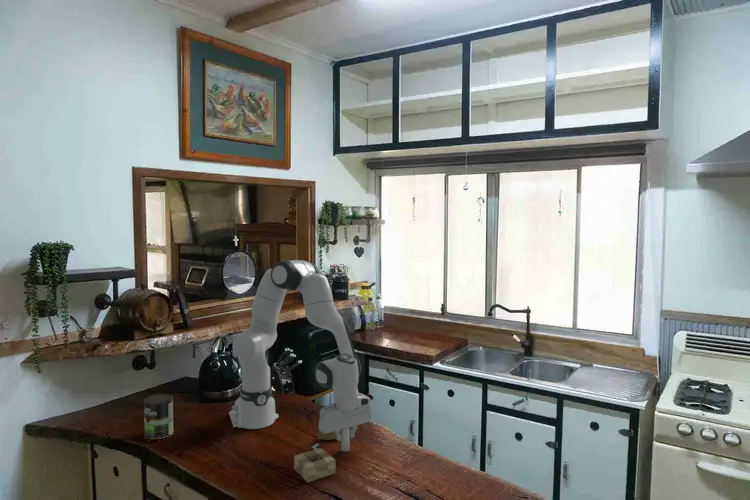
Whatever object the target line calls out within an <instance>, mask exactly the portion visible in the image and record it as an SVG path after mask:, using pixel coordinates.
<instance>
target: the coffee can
mask: <svg viewBox="0 0 750 500" xmlns="http://www.w3.org/2000/svg"><path fill="white" fill-rule="evenodd" d="M143 416H144V417H143V418H144V422H143V423H144V424H143V425H144V429H143V430H144V436H145V437H146V438H149V439H161V438H165V437H168V436H170V435H172V434H173V435H174V433H173V432H174V396H173V395H171V394H170V393H169V394H167V393H158V394H153V395H149V396H147V397H145V398H144V399H143ZM173 435H172V436H173ZM170 437H171V436H170Z"/></svg>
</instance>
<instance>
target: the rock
mask: <svg viewBox="0 0 750 500" xmlns="http://www.w3.org/2000/svg"><path fill="white" fill-rule="evenodd" d="M339 434H341V435H342V429H341V430H340V432H339ZM316 440H324V441H329V440H337V435H336V434H335V432H334V431H333V432H330V433H326V434H324V433H323V432H321V431H320V430H319V429H318V432H317V435H316Z"/></svg>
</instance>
